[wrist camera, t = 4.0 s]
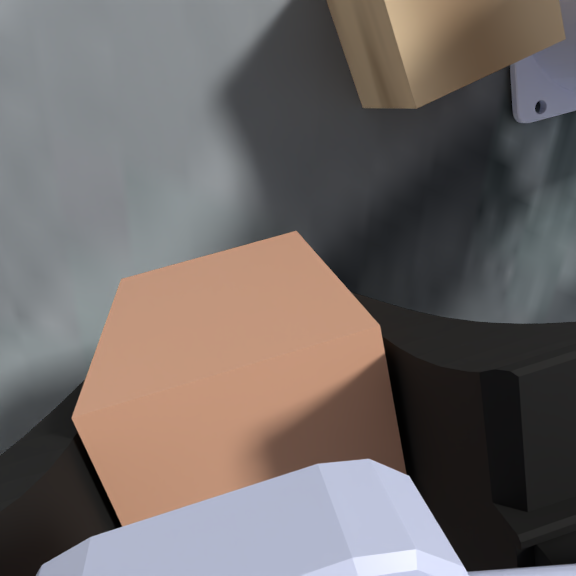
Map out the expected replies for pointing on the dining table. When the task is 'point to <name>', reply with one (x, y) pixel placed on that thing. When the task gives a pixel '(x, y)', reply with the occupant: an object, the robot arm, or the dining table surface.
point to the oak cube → (437, 43)
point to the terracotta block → (233, 378)
